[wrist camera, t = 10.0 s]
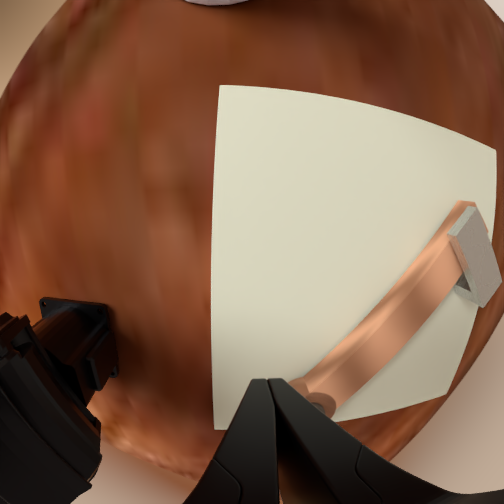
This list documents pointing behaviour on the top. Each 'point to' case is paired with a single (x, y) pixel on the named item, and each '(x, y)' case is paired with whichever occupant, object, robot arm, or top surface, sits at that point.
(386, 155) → the base board
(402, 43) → the top surface
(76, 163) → the top surface
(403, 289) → the link
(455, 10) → the top surface
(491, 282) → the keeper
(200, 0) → the soap bottle
